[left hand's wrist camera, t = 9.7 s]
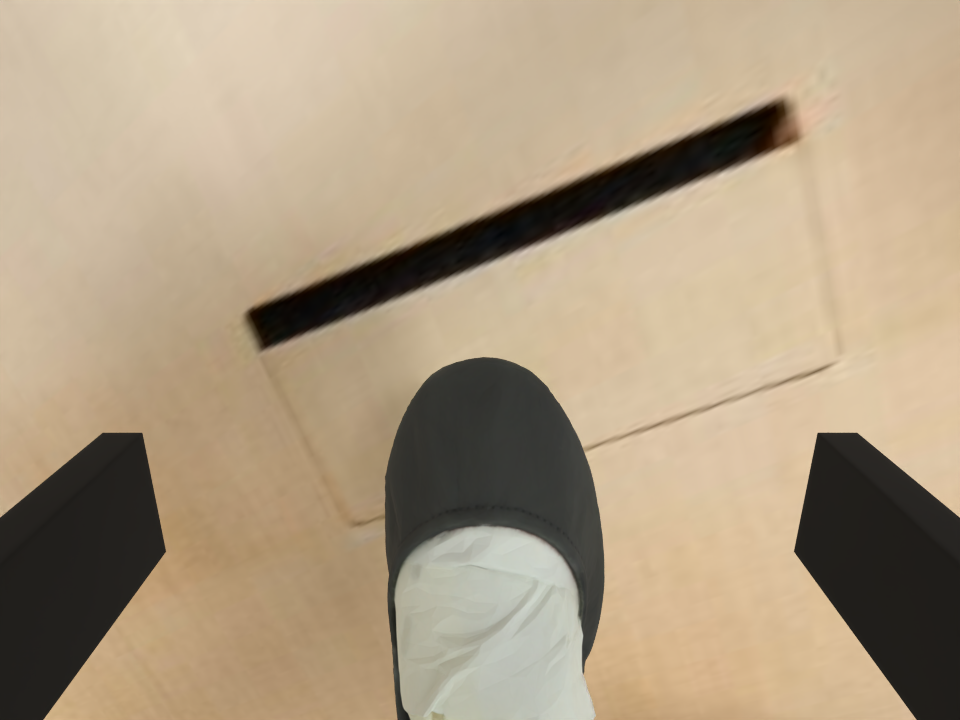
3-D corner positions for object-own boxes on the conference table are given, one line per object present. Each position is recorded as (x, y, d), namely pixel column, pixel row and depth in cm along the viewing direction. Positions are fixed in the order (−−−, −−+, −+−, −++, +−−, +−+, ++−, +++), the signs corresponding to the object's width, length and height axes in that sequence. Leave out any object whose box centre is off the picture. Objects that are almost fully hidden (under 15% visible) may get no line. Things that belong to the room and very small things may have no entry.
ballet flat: (606, 343, 24) (665, 450, 16) (579, 812, 32) (610, 1035, 24) (379, 345, 24) (327, 453, 16) (411, 813, 32) (387, 1035, 24)
